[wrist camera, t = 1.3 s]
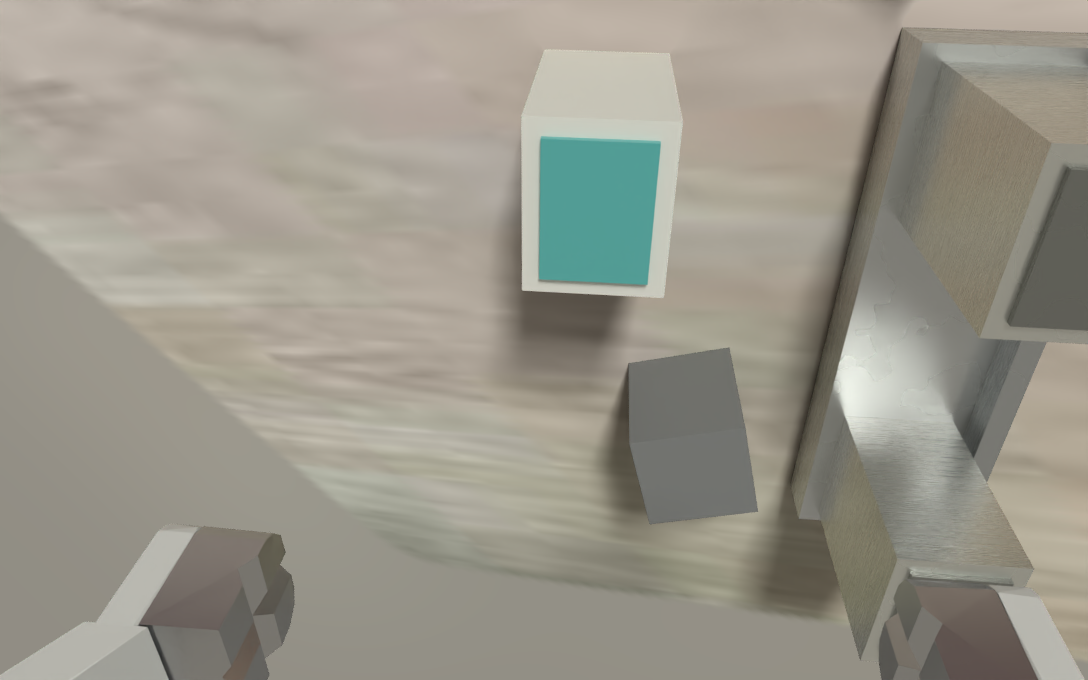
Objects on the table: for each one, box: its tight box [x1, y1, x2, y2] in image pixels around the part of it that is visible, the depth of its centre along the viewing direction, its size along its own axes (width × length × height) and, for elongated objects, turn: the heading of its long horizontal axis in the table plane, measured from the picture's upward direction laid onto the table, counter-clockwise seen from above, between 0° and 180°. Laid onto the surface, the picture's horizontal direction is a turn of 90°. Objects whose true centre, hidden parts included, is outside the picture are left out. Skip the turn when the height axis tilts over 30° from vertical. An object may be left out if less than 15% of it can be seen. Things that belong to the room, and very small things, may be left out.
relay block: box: [629, 348, 758, 524], centre depth 31 cm, size 4×4×5 cm
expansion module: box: [521, 49, 683, 298], centre depth 24 cm, size 4×5×7 cm
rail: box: [790, 28, 1088, 662], centre depth 26 cm, size 6×19×9 cm, turn 179°
